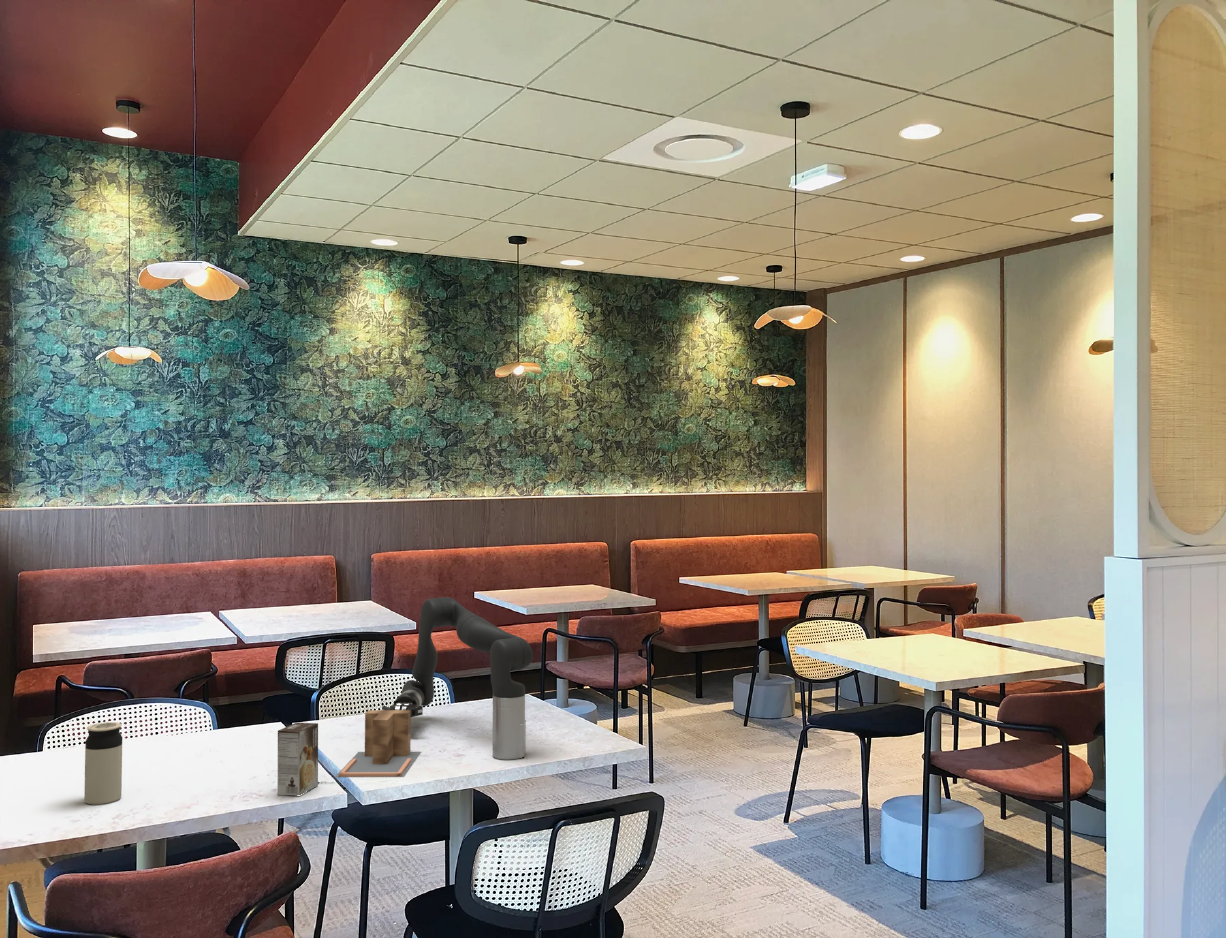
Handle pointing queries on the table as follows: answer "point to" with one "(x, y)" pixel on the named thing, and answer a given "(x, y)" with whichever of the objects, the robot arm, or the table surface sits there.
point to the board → (378, 766)
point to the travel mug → (103, 763)
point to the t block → (387, 734)
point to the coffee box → (297, 758)
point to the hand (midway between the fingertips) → (396, 717)
